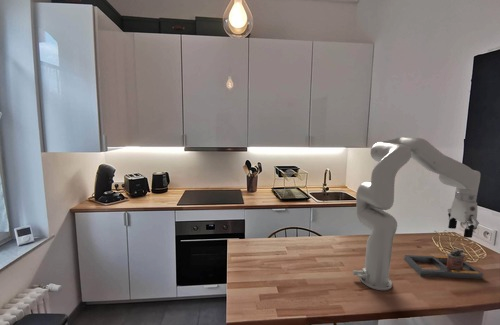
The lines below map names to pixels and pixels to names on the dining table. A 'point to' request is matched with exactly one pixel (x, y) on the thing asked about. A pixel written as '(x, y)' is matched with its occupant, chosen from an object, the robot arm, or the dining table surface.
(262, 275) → the dining table surface
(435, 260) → the grey divided frame
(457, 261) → the reddish brown container
